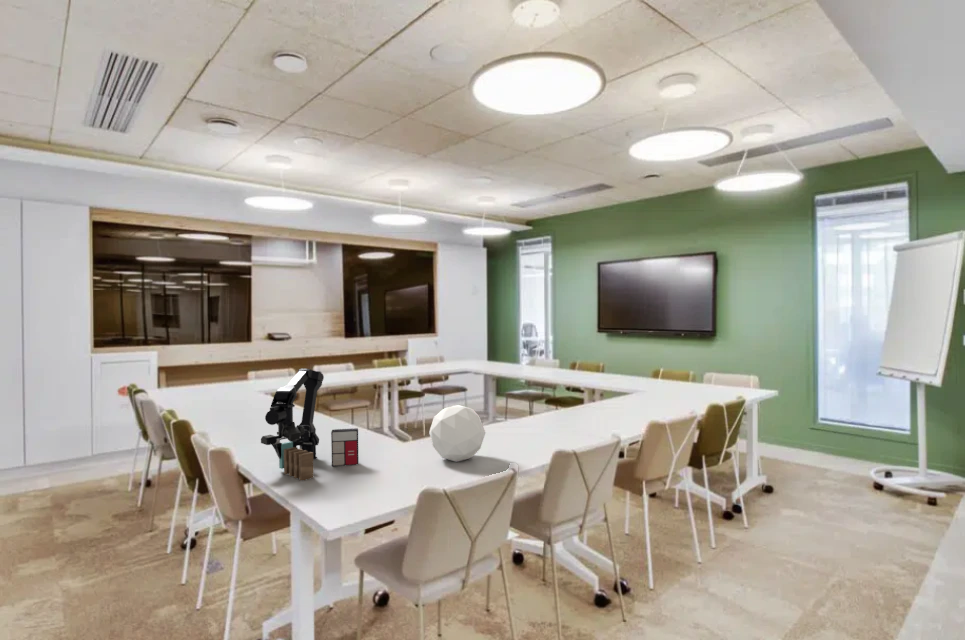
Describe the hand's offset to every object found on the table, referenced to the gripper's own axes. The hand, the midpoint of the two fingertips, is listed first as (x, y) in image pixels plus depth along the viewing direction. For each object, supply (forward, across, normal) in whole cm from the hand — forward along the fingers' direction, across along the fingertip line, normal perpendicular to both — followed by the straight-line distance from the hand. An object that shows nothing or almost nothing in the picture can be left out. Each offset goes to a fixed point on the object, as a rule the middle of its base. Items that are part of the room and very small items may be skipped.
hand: (286, 457), depth 218 cm
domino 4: (+6, 0, -12) cm, 13 cm away
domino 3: (+6, 0, -8) cm, 10 cm away
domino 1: (+4, 0, 0) cm, 4 cm away
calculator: (+6, +21, -11) cm, 24 cm away
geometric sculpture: (+6, +58, -42) cm, 72 cm away
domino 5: (+6, 0, -16) cm, 17 cm away
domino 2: (+6, 0, -4) cm, 7 cm away
